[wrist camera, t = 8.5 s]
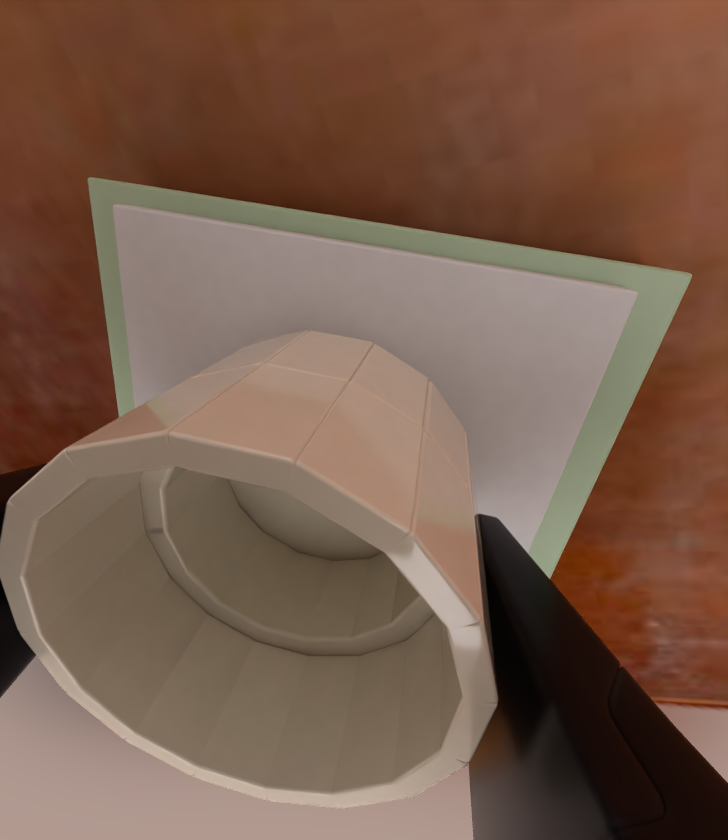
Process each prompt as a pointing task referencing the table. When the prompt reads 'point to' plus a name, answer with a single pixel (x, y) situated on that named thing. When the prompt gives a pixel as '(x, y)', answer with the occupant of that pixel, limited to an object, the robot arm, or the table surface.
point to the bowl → (269, 576)
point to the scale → (397, 327)
